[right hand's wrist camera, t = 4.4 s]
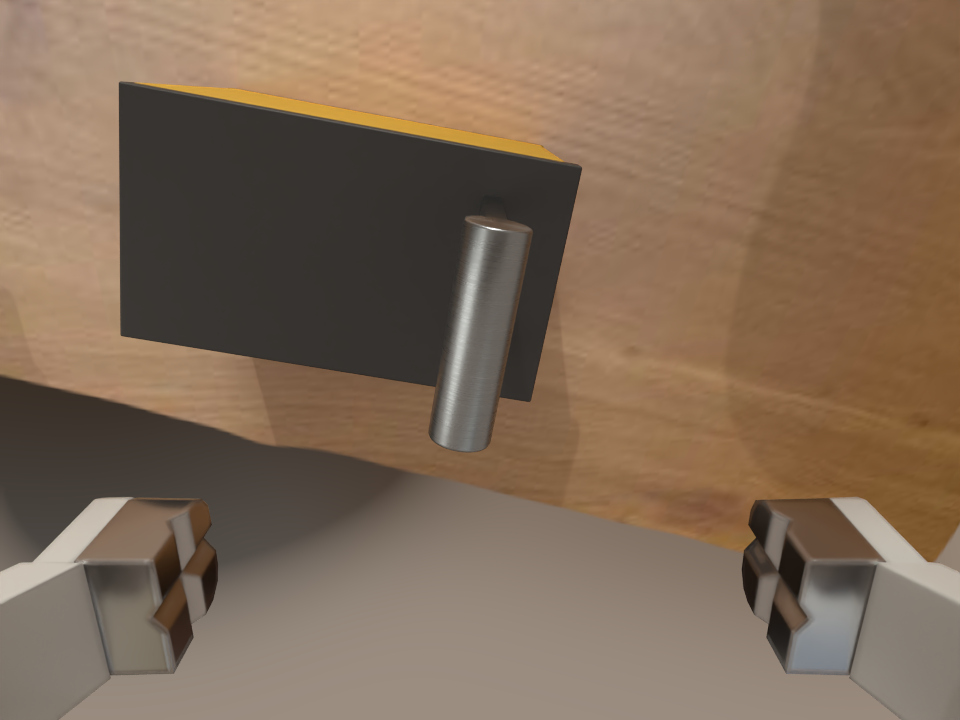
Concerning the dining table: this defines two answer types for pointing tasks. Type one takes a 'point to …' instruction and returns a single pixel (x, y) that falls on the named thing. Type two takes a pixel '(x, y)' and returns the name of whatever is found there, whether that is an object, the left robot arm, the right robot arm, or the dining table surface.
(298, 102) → the chest
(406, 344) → the lid
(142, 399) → the dining table surface
